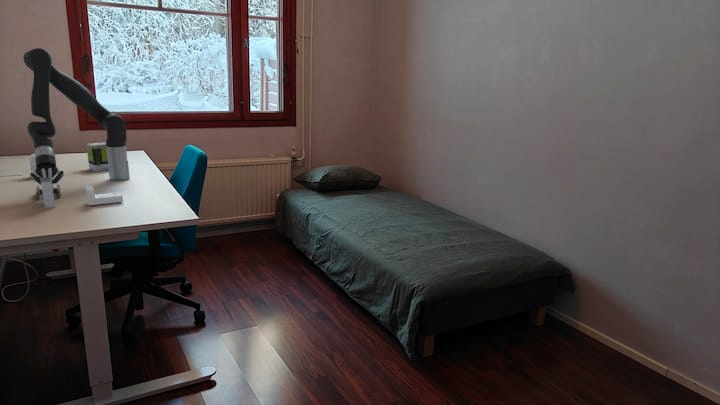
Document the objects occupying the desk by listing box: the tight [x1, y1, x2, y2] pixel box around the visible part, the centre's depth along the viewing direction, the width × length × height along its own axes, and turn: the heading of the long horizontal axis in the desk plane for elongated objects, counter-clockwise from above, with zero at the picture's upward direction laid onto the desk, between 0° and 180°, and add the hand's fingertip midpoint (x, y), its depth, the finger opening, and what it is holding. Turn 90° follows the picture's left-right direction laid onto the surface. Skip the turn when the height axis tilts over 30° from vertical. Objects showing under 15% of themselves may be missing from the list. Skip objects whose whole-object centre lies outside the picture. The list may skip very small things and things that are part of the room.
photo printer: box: [29, 153, 41, 178], centre depth 253 cm, size 10×4×12 cm, turn 123°
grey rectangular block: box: [39, 177, 56, 210], centre depth 200 cm, size 4×10×11 cm, turn 35°
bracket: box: [85, 185, 124, 206], centre depth 206 cm, size 13×7×8 cm, turn 123°
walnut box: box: [35, 184, 61, 201], centre depth 216 cm, size 9×14×4 cm, turn 31°
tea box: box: [85, 141, 109, 172], centre depth 276 cm, size 15×10×15 cm, turn 135°
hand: (49, 191), depth 208 cm, fingers closed
